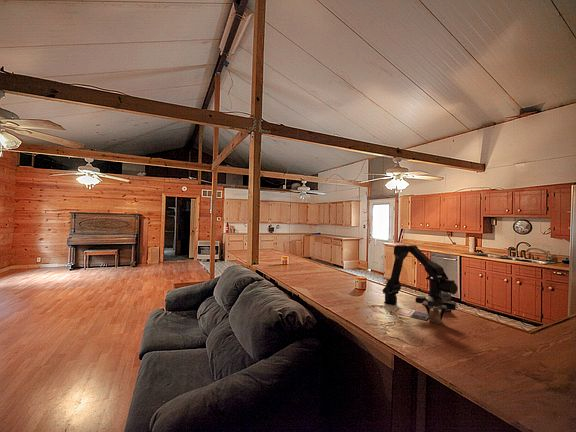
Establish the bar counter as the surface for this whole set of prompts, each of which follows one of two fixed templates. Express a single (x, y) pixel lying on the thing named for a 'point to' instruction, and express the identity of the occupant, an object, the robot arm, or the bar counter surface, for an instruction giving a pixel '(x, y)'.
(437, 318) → the stamp
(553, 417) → the bar counter surface
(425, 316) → the ink pad
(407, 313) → the print sheet
